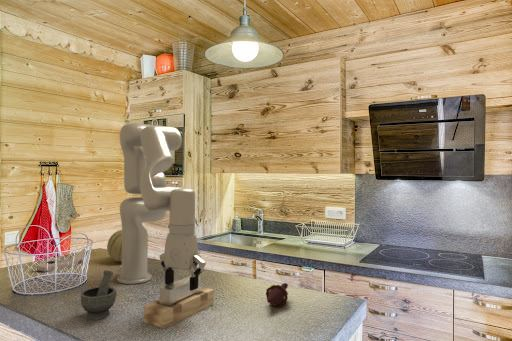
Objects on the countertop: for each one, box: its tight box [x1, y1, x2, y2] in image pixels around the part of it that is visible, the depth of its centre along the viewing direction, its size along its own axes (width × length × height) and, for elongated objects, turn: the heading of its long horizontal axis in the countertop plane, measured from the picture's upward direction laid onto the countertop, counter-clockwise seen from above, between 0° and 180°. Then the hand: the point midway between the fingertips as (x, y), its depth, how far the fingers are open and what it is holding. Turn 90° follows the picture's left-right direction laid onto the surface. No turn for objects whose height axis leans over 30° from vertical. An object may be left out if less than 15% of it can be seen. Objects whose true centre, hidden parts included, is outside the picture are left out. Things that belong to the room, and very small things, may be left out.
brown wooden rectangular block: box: [143, 286, 215, 329], centre depth 112 cm, size 8×22×4 cm, turn 150°
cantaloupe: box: [106, 229, 122, 263], centre depth 170 cm, size 15×15×15 cm
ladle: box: [31, 247, 94, 273], centre depth 161 cm, size 6×6×25 cm
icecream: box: [265, 282, 289, 308], centre depth 118 cm, size 7×7×15 cm
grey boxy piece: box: [158, 275, 202, 307], centre depth 112 cm, size 4×14×8 cm, turn 150°
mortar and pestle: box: [80, 270, 117, 321], centre depth 109 cm, size 11×9×12 cm
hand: (181, 286), depth 112 cm, fingers open, 9 cm apart
